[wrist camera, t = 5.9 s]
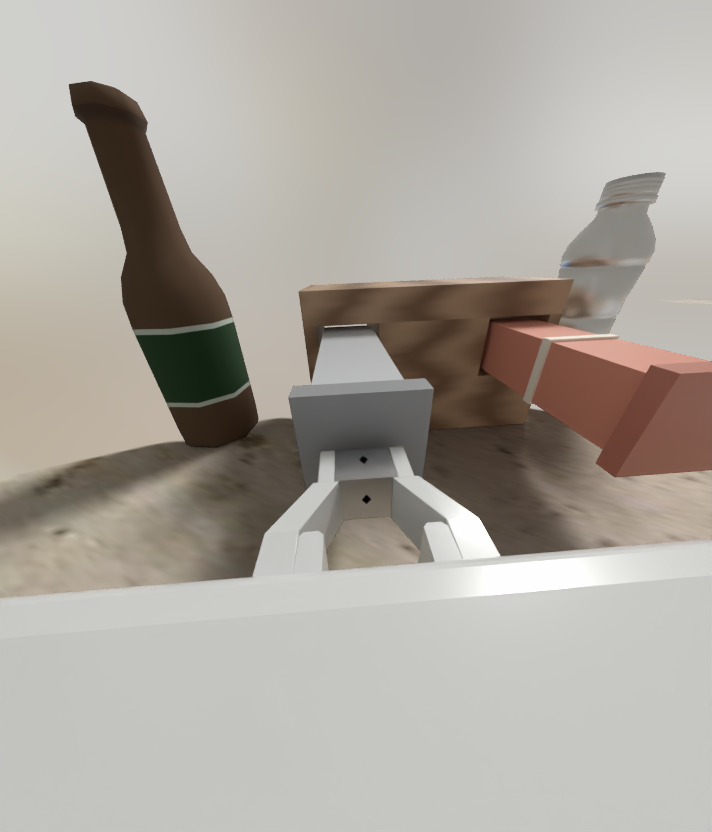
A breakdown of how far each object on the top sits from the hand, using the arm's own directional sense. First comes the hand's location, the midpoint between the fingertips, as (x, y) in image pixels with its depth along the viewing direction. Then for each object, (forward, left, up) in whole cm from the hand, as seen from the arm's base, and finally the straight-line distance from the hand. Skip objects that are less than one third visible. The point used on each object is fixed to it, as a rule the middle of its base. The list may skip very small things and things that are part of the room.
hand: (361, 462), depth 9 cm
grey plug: (0, +8, -2) cm, 8 cm away
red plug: (+14, +8, -2) cm, 16 cm away
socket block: (+7, +18, -8) cm, 21 cm away
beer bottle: (-14, +16, -8) cm, 23 cm away
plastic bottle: (+25, +20, -8) cm, 33 cm away
